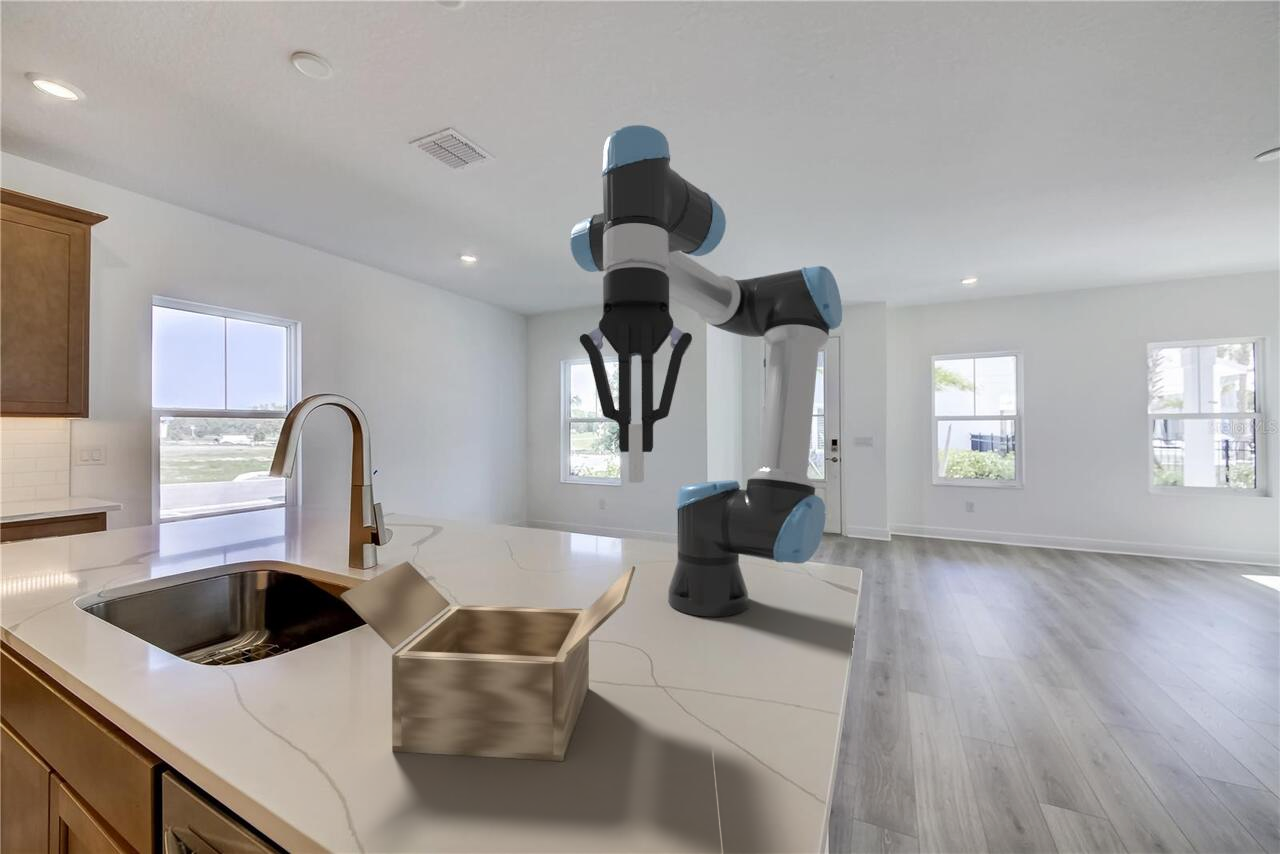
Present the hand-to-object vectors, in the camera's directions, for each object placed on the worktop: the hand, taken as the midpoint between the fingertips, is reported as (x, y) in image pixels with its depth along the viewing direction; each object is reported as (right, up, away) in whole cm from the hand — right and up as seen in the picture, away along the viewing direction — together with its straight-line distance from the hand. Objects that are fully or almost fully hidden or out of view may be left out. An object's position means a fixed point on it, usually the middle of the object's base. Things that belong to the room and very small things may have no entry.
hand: (636, 480), depth 57 cm
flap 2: (-4, -14, 0) cm, 15 cm away
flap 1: (-28, -14, +2) cm, 31 cm away
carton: (-16, -27, +1) cm, 32 cm away
